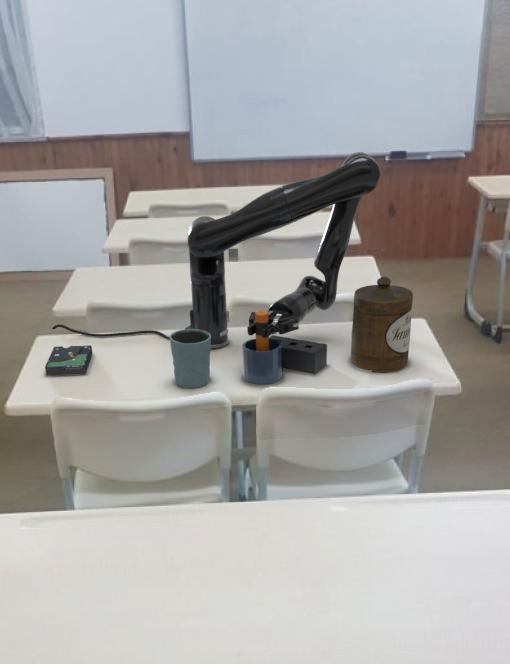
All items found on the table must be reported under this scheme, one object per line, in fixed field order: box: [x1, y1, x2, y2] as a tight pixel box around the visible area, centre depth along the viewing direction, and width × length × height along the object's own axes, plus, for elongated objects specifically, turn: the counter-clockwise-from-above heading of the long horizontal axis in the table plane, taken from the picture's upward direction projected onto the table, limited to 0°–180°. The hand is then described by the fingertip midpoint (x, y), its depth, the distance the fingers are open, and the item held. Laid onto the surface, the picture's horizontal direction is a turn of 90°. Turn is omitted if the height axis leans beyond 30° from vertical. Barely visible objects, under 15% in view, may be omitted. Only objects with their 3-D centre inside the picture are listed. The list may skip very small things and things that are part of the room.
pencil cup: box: [241, 338, 283, 386], centre depth 210 cm, size 10×10×9 cm
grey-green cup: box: [169, 328, 211, 389], centre depth 209 cm, size 10×10×12 cm
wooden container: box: [350, 276, 414, 373], centre depth 214 cm, size 15×15×22 cm
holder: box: [269, 334, 328, 375], centre depth 218 cm, size 16×7×6 cm, turn 61°
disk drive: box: [44, 344, 93, 377], centre depth 223 cm, size 10×3×15 cm
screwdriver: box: [254, 310, 270, 351], centre depth 208 cm, size 3×3×16 cm
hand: (256, 332), depth 203 cm, fingers closed on screwdriver, 3 cm apart
